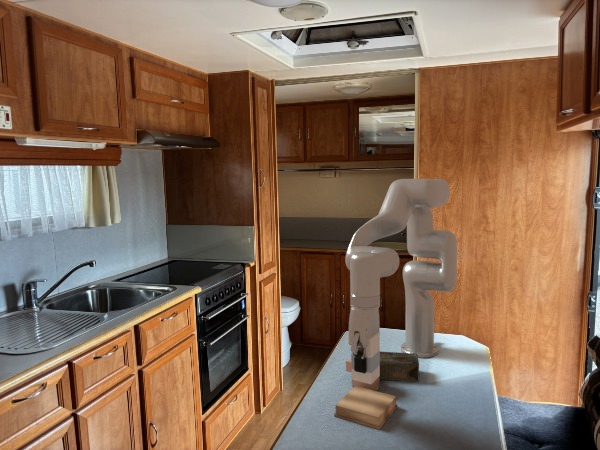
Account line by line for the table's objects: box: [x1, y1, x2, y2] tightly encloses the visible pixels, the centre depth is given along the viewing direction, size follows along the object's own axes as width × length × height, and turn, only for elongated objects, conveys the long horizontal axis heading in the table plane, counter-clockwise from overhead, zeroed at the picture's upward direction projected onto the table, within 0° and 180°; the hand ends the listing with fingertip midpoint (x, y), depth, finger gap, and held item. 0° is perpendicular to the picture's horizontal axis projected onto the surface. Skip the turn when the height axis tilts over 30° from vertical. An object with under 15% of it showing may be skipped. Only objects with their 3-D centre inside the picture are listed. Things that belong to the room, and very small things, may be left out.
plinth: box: [333, 386, 398, 430], centre depth 125 cm, size 13×13×3 cm
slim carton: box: [350, 331, 381, 384], centre depth 123 cm, size 6×6×13 cm
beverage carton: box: [379, 351, 420, 382], centre depth 146 cm, size 8×19×7 cm, turn 80°
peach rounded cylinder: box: [345, 359, 380, 391], centre depth 139 cm, size 8×10×9 cm
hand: (365, 366), depth 123 cm, fingers closed on slim carton, 5 cm apart
